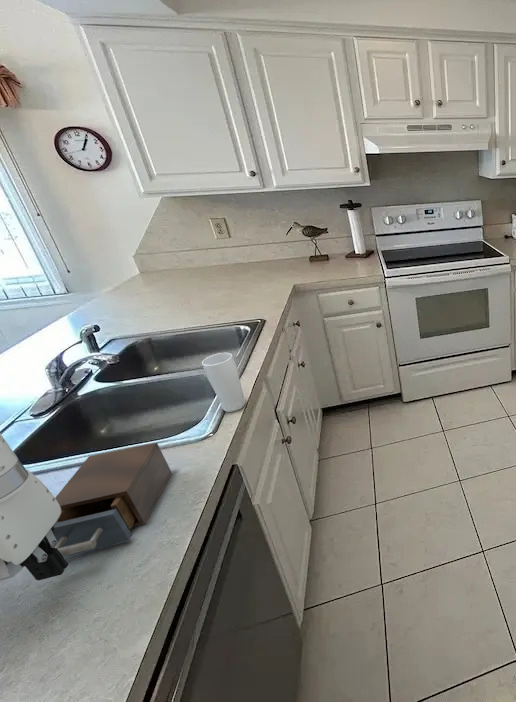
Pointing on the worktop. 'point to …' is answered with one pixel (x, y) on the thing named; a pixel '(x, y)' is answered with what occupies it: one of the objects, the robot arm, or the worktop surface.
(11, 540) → the robot arm
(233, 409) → the drinking glass
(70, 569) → the worktop surface
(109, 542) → the drawer
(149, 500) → the cabinet
